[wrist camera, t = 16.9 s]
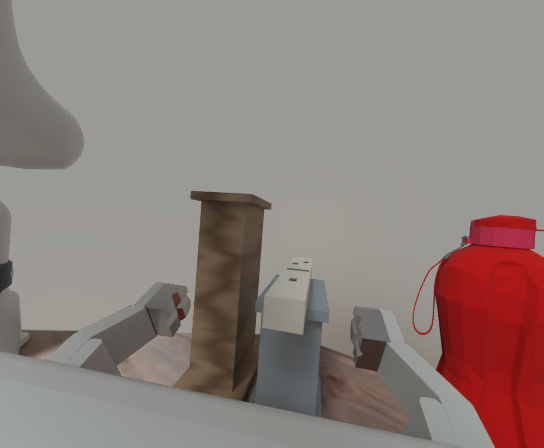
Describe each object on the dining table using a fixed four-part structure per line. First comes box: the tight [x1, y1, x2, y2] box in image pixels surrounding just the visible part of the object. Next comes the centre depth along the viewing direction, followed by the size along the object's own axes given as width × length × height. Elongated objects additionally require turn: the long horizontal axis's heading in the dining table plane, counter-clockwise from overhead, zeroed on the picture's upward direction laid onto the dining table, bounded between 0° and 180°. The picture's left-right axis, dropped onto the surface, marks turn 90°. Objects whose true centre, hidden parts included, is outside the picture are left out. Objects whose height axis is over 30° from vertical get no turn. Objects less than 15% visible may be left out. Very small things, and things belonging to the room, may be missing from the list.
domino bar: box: [262, 257, 313, 335], centre depth 26 cm, size 3×21×2 cm, turn 168°
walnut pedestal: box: [173, 191, 271, 401], centre depth 33 cm, size 9×12×26 cm
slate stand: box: [254, 275, 329, 418], centre depth 27 cm, size 8×12×15 cm, turn 169°
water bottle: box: [413, 215, 544, 448], centre depth 22 cm, size 9×11×25 cm
